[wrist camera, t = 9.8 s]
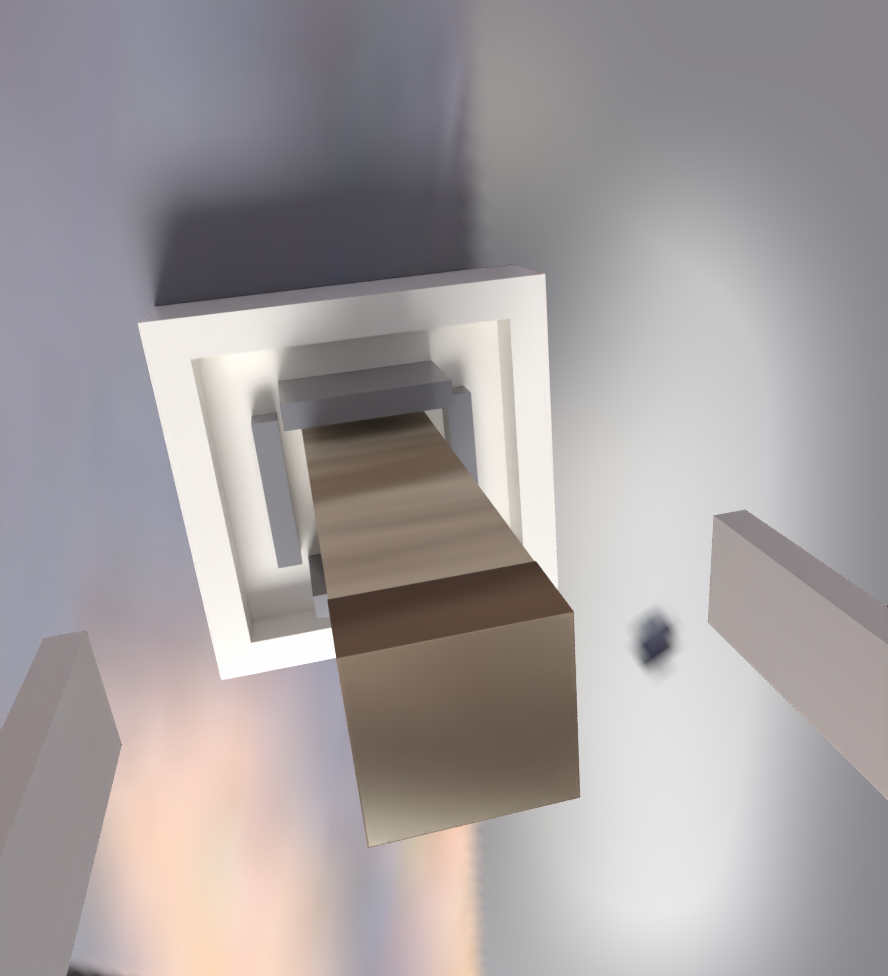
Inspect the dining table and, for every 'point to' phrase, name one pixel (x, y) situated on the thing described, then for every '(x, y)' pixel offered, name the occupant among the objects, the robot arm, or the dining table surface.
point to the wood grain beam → (438, 635)
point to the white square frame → (332, 400)
